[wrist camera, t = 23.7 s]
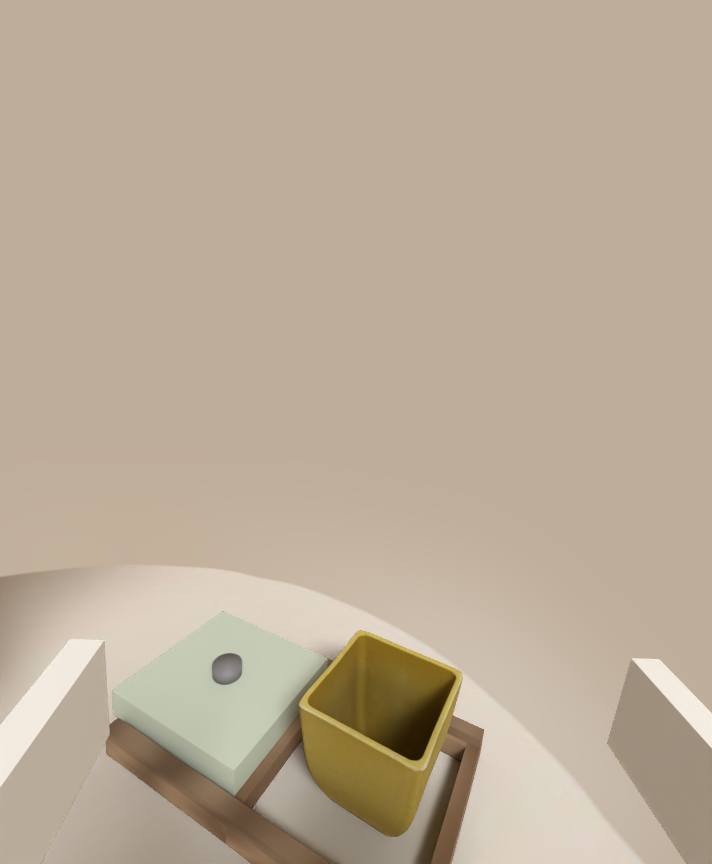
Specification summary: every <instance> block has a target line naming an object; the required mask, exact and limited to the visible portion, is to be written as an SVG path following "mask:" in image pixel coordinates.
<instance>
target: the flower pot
mask: <svg viewBox="0 0 712 864" xmlns="http://www.w3.org/2000/svg"><path fill="white" fill-rule="evenodd" d="M462 678H463V677H462V673H461V672H460V671H458V670H457V669H455V668H452V667H450V666H448V665H446V664H443V663H441V662H439V661H436V660H433V659H431V658H428V657H426V656H424V655H421V654H419V653H416V652H414V651H412V650H409V649H407V648H404V647H402V646H400V645H397V644H395V643H393V642H391V641H388V640H386V639H384V638H381V637H379V636H377V635H374V634H372V633H369V632H365V631H361V630H360V631H358V632H356V634H355V635H354V636H353V637H352V638H351V639H350V641H349V642H348V643H347V645H346V646H345V647H344V649H343V650H342V651H341V652H340V654H339V655H338V656H337V657H336V659H335V660H334V661H333V662H332V664H331V665H330V666H329V667H328V668H327V669H326V670H325V672H324V673H323V674H322V675H321V676H320V677H319V678H318V679H317V680H316V682H315V683H314V684H313V685H312V686H311V687H310V688H309V689H308V691H307V692H306V693H305V694H304V696H303V697H302V698H301V700H300V702H299V710H300V720H301V729H302V736H303V745H304V752H305V757H306V762H307V765H308V768H309V770H310V772H311V774H312V776H313V778H314V780H315V781H316V783H317V784H318V785H319V787H320V788H321V789H322V790H323V791H324V792H325V793H326V795H327V796H328V797H329V798H330V799H331V800H333V801H334V802H336V803H337V804H339V805H340V806H342V807H343V808H345V809H346V810H348V811H349V812H351V813H353V814H354V815H356V816H357V817H359V818H361V819H362V820H364V821H365V822H367V823H368V824H370V825H371V826H373V827H374V828H376V829H377V830H379V831H380V832H382V833H383V834H385V835H387V836H390V837H397V836H400V835H402V834H403V833H404V832H405V831H406V830H407V829H408V828H409V826H410V824H411V823H412V821H413V819H414V816H415V814H416V811H417V809H418V806H419V803H420V800H421V798H422V795H423V792H424V789H425V787H426V784H427V782H428V779H429V776H430V774H431V771H432V769H433V766H434V764H435V761H436V759H437V756H438V754H439V752H440V749H441V747H442V744H443V742H444V740H445V737H446V735H447V732H448V729H449V726H450V722H451V719H452V715H453V712H454V708H455V705H456V701H457V697H458V694H459V690H460V687H461V683H462Z"/></svg>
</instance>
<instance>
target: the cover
mask: <svg viewBox="0 0 712 864" xmlns="http://www.w3.org/2000/svg"><path fill="white" fill-rule="evenodd" d="M327 663H328V658H326V657H324V656H321V655H319V654H317V653H315V652H313V651H310V650H308V649H306V648H304V647H302V646H299V645H297V644H295V643H293V642H290V641H288V640H286V639H284V638H282V637H279V636H277V635H275V634H273V633H271V632H268V631H266V630H264V629H262V628H260V627H257V626H255V625H253V624H251V623H248V622H246V621H244V620H242V619H240V618H237V617H235V616H233V615H231V614H229V613H226V612H224V611H222V612H221V613H219V614H218V615H216V616H215V617H214V618H212V619H211V620H210V621H208V622H207V623H205V624H204V625H203V626H201V627H200V628H198V629H197V630H196V631H194V632H193V633H192V634H190V635H189V636H187V637H186V638H185V639H183V640H182V641H180V642H179V643H178V644H176V645H175V646H173V647H172V648H171V649H169V650H168V651H167V652H165V653H164V654H162V655H161V656H160V657H158V658H157V659H155V660H154V661H153V662H151V663H150V664H149V665H147V666H146V667H144V668H143V669H142V670H140V671H139V672H137V673H136V674H135V675H133V676H132V677H131V678H129V679H128V680H126V681H125V682H124V683H122V684H121V685H119V686H118V687H117V688H115V689H114V690H112V702H113V714H114V715H115V716H116V717H118V718H119V719H121V720H122V721H124V722H125V723H127V724H128V725H130V726H131V727H133V728H134V729H136V730H137V731H138V732H140V733H141V734H143V735H144V736H146V737H147V738H149V739H150V740H152V741H153V742H154V743H156V744H157V745H159V746H160V747H162V748H163V749H165V750H166V751H168V752H169V753H170V754H172V755H173V756H175V757H176V758H178V759H179V760H181V761H182V762H184V763H185V764H186V765H188V766H189V767H191V768H192V769H194V770H195V771H197V772H198V773H200V774H201V775H202V776H204V777H205V778H207V779H208V780H210V781H211V782H213V783H214V784H216V785H217V786H219V787H220V788H221V789H223V790H224V791H226V792H227V793H229V794H230V795H232V796H233V797H234V796H235V795H236V794H237V792H238V791H239V790H240V788H241V787H242V786H243V785H244V783H245V782H246V781H247V780H248V778H249V777H250V776H251V774H252V773H253V772H254V771H255V769H256V768H257V767H258V766H259V764H260V763H261V762H262V760H263V759H264V758H265V757H266V755H267V754H268V753H269V752H270V750H271V749H272V748H273V746H274V745H275V744H276V743H277V741H278V740H279V739H280V738H281V736H282V735H283V734H284V732H285V731H286V730H287V729H288V727H289V726H290V725H291V724H292V722H293V721H294V720H295V718H296V717H297V716H298V715H299V713H300V710H299V702H300V700H301V698H302V697H303V696H304V694H305V693H306V692H307V691H308V689H309V688H310V687H311V686H312V685H313V684H314V683H315V682H316V680H317V679H318V678H319V677H320V676H321V675H322V674H323V673H324V672H325V670H326V669H327Z"/></svg>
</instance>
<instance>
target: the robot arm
mask: <svg viewBox="0 0 712 864" xmlns="http://www.w3.org/2000/svg"><path fill="white" fill-rule="evenodd" d="M109 734H110V729H109V712H108V694H107V676H106V659H105V641H104V640H86V639H70V640H69V641H68V643H67V644H66V645H65V646H64V648H63V649H62V650H61V651H60V652H59V654H58V655H57V656H56V657H55V659H54V660H53V661H52V662H51V663H50V665H49V666H48V667H47V668H46V670H45V671H44V672H43V673H42V674H41V676H40V677H39V678H38V679H37V681H36V682H35V683H34V684H33V685H32V687H31V688H30V689H29V690H28V692H27V693H26V694H25V695H24V696H23V698H22V699H21V700H20V701H19V703H18V704H17V705H16V706H15V708H14V709H13V710H12V711H11V712H10V714H9V715H8V716H7V717H6V719H5V720H4V721H3V722H2V723H1V725H0V864H41V862H42V860H43V858H44V856H45V854H46V853H47V851H48V849H49V847H50V845H51V843H52V841H53V839H54V838H55V836H56V834H57V832H58V830H59V828H60V826H61V824H62V823H63V821H64V819H65V817H66V815H67V813H68V811H69V809H70V808H71V806H72V804H73V802H74V800H75V798H76V796H77V794H78V793H79V791H80V789H81V787H82V785H83V783H84V781H85V779H86V778H87V776H88V774H89V772H90V770H91V768H92V766H93V764H94V763H95V761H96V759H97V757H98V755H99V753H100V751H101V749H102V748H103V746H104V744H105V742H106V740H107V738H108V736H109ZM607 744H608V745H609V747H610V748H611V750H612V751H613V753H614V754H615V756H616V757H617V759H618V760H619V762H620V764H621V765H622V767H623V768H624V770H625V771H626V773H627V774H628V776H629V777H630V779H631V780H632V782H633V783H634V785H635V786H636V788H637V789H638V791H639V792H640V794H641V795H642V797H643V799H644V800H645V802H646V803H647V805H648V806H649V808H650V809H651V811H652V812H653V814H654V815H655V817H656V818H657V820H658V821H659V823H660V824H661V826H662V828H663V829H664V830H665V832H666V834H667V835H668V837H669V838H670V840H671V841H672V843H673V844H674V846H675V847H676V849H677V850H678V852H679V853H680V855H681V856H682V858H683V859H684V861H685V863H686V864H712V713H711V712H710V711H709V710H708V709H707V708H706V707H705V706H704V705H703V704H702V703H701V702H700V701H699V700H698V699H697V698H696V697H695V696H694V695H693V694H692V693H691V692H690V691H689V690H688V688H686V686H685V685H684V684H683V683H682V682H681V681H680V680H679V679H678V678H677V677H676V676H675V675H674V674H673V673H672V672H671V671H670V670H669V669H668V668H667V667H666V666H665V665H664V664H663V663H662V662H661V661H660V660H659V659H635V658H631V662H630V665H629V668H628V672H627V676H626V679H625V682H624V686H623V689H622V693H621V696H620V700H619V704H618V707H617V710H616V714H615V717H614V721H613V725H612V728H611V732H610V735H609V738H608V742H607Z"/></svg>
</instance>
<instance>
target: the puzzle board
mask: <svg viewBox="0 0 712 864" xmlns="http://www.w3.org/2000/svg"><path fill="white" fill-rule="evenodd" d="M332 662H333V661H331V660H329V659H328V663H327V668H328V667H329V666H330V665H331V664H332ZM109 729H110V734H109V736H108V738H107V740H106V754H108V755H109V756H110V757H112V758H113V759H114V760H116V761H117V762H118V763H120V764H121V765H122V766H124V767H125V768H126V769H128V770H129V771H130V772H132V773H133V774H134V775H136V776H137V777H138V778H139V779H141V780H142V781H143V782H145V783H146V784H147V785H149V786H150V787H151V788H153V789H154V790H155V791H157V792H158V793H159V794H161V795H162V796H163V797H165V798H166V799H167V800H169V801H170V802H171V803H173V804H174V805H175V806H177V807H178V808H179V809H181V810H182V811H183V812H185V813H186V814H187V815H188V816H190V817H191V818H192V819H194V820H195V821H196V822H198V823H199V824H200V825H202V826H203V827H204V828H206V829H207V830H208V831H210V832H211V833H212V834H214V835H215V836H216V837H218V838H219V839H220V840H222V841H223V842H224V843H226V844H227V845H228V846H230V847H231V848H232V849H234V850H235V851H236V852H237V853H239V854H240V855H241V856H243V857H244V858H245V859H247V860H248V861H249V862H251V863H252V864H331V863H329V862H328V861H326V860H325V859H323V858H322V857H320V856H319V855H318V854H316V853H315V852H313V851H312V850H310V849H309V848H307V847H306V846H304V845H303V844H302V843H300V842H299V841H297V840H296V839H294V838H293V837H291V836H290V835H288V834H287V833H285V832H284V831H283V830H281V829H280V828H278V827H277V826H275V825H274V824H272V823H271V822H269V821H268V820H267V819H265V818H264V817H262V816H261V815H259V814H258V813H256V812H255V811H253V810H252V808H253V806H254V805H255V803H256V802H257V801H258V799H259V798H260V797H261V795H262V794H263V792H264V791H265V790H266V788H267V787H268V786H269V784H270V783H271V781H272V780H273V779H274V777H275V776H276V775H277V773H278V772H279V770H280V769H281V768H282V766H283V765H284V764H285V762H286V761H287V759H288V758H289V757H290V755H291V754H292V753H293V751H294V750H295V748H296V747H297V746H298V744H299V743H300V742H301V740H302V739H303V736H302V729H301V720H300V713H299V715H298V716H297V717H296V718H295V720H294V721H293V722H292V724H291V725H290V726H289V727H288V729H287V730H286V731H285V732H284V734H283V735H282V736H281V738H280V739H279V740H278V741H277V743H276V744H275V745H274V746H273V748H272V749H271V750H270V752H269V753H268V754H267V755H266V757H265V758H264V759H263V760H262V762H261V763H260V764H259V766H258V767H257V768H256V769H255V771H254V772H253V773H252V774H251V776H250V777H249V778H248V780H247V781H246V782H245V783H244V785H243V786H242V787H241V788H240V790H239V791H238V792H237V794H236V795H235V796H234V797H233V796H232V795H230V794H229V793H227V792H226V791H224V790H223V789H221V788H220V787H219V786H217V785H216V784H214V783H213V782H211V781H210V780H208V779H207V778H205V777H204V776H202V775H201V774H200V773H198V772H197V771H195V770H194V769H192V768H191V767H189V766H188V765H186V764H185V763H184V762H182V761H181V760H179V759H178V758H176V757H175V756H173V755H172V754H170V753H169V752H168V751H166V750H165V749H163V748H162V747H160V746H159V745H157V744H156V743H154V742H153V741H152V740H150V739H149V738H147V737H146V736H144V735H143V734H141V733H140V732H138V731H137V730H136V729H134V728H133V727H131V726H130V725H128V724H127V723H125V722H124V721H122V720H121V719H119V718H118V719H116V720H115V721H114V722H112V723H111V724H110V725H109ZM483 733H484V729H482V728H479V727H477V726H475V725H473V724H470V723H468V722H466V721H464V720H462V719H459V718H457V717H455V716H453V715H452V719H451V722H450V726H449V729H448V732H447V735H446V737H445V740H444V742H443V744H442V747H441V749H440V751H442V752H444V753H446V754H448V755H450V756H452V757H454V758H456V759H458V760H460V761H461V765H460V768H459V771H458V775H457V778H456V781H455V785H454V788H453V791H452V795H451V798H450V801H449V805H448V808H447V811H446V815H445V818H444V821H443V824H442V828H441V831H440V834H439V838H438V841H437V844H436V848H435V851H434V854H433V858H432V861H431V864H451V863H452V859H453V856H454V852H455V848H456V844H457V840H458V836H459V833H460V829H461V825H462V821H463V817H464V813H465V810H466V806H467V802H468V798H469V794H470V790H471V787H472V783H473V779H474V775H475V771H476V767H477V764H478V760H479V756H480V751H481V745H482V739H483Z"/></svg>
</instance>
